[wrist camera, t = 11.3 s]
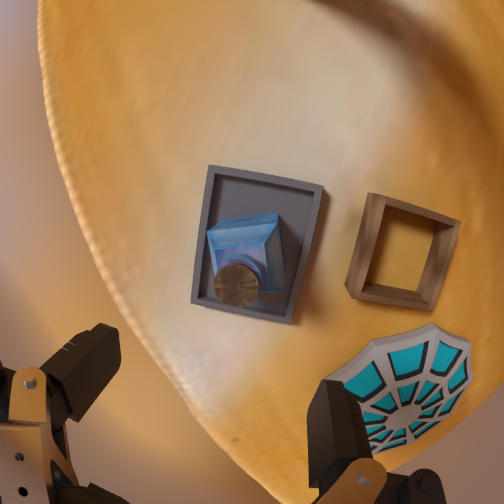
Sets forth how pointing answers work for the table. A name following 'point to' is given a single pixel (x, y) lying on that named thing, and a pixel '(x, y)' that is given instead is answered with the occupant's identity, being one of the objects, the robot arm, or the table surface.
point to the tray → (250, 205)
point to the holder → (433, 267)
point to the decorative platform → (407, 383)
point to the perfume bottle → (246, 258)
